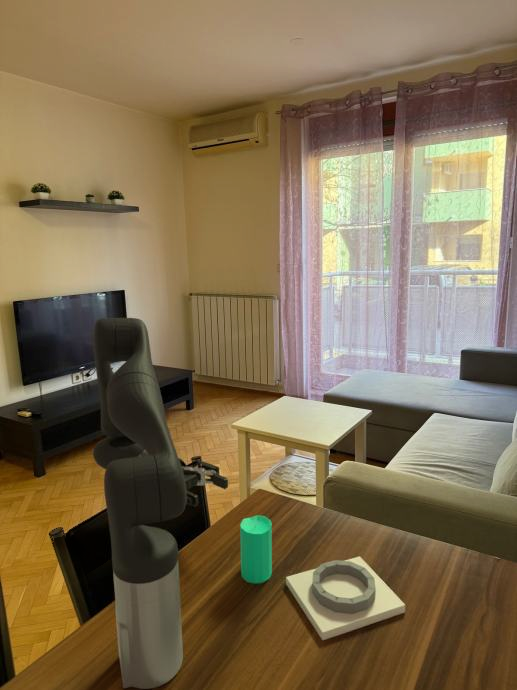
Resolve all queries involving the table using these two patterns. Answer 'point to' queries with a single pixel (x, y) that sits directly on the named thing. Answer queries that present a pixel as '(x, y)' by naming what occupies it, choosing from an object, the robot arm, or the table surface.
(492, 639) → the table surface
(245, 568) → the candle
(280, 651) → the table surface
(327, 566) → the jig plate
